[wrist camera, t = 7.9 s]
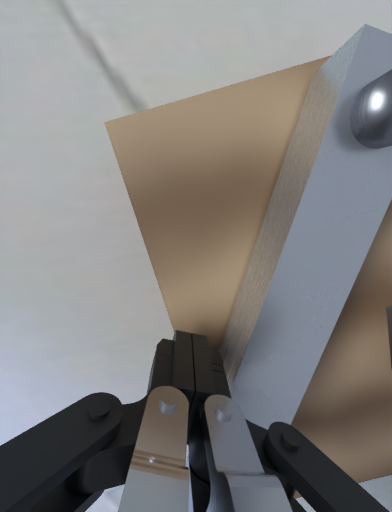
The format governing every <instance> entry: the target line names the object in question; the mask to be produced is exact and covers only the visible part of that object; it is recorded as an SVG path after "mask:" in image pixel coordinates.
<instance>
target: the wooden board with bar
mask: <svg viewBox="0 0 392 512" xmlns="http://www.w3.org/2000/svg"><path fill="white" fill-rule="evenodd" d="M330 57H331V56H328V57H325V58H321V59H318V60H315V61H311V62H308V63H304V64H301V65H298V66H294V67H291V68H287V69H284V70H281V71H277V72H274V73H270V74H267V75H264V76H260V77H257V78H254V79H250V80H247V81H243V82H240V83H237V84H233V85H230V86H226V87H223V88H220V89H216V90H213V91H209V92H206V93H203V94H199V95H196V96H192V97H189V98H186V99H182V100H179V101H175V102H172V103H169V104H165V105H162V106H158V107H155V108H152V109H148V110H145V111H141V112H138V113H135V114H131V115H128V116H124V117H121V118H118V119H114V120H111V121H108V122H105V125H106V128H107V131H108V134H109V137H110V140H111V143H112V146H113V149H114V152H115V155H116V158H117V161H118V164H119V167H120V170H121V173H122V176H123V179H124V182H125V185H126V188H127V191H128V194H129V197H130V200H131V203H132V206H133V209H134V212H135V215H136V218H137V221H138V224H139V227H140V230H141V233H142V236H143V239H144V242H145V245H146V248H147V251H148V254H149V257H150V260H151V263H152V266H153V269H154V272H155V275H156V278H157V281H158V284H159V287H160V290H161V293H162V296H163V299H164V302H165V305H166V308H167V311H168V314H169V317H170V320H171V323H172V326H173V329H174V332H175V330H180V331H185V332H190V333H195V334H200V335H205V336H207V341H208V346H209V347H210V348H215V349H216V350H217V351H218V352H219V350H220V347H221V344H222V341H223V338H224V335H225V332H226V329H227V326H228V323H229V320H230V317H231V315H232V312H233V309H234V306H235V303H236V300H237V297H238V294H239V291H240V288H241V285H242V282H243V279H244V276H245V273H246V270H247V267H248V264H249V261H250V258H251V255H252V252H253V250H254V247H255V244H256V241H257V238H258V235H259V232H260V229H261V226H262V223H263V220H264V217H265V214H266V211H267V208H268V205H269V202H270V199H271V196H272V193H273V190H274V187H275V184H276V182H277V179H278V176H279V173H280V170H281V167H282V164H283V161H284V158H285V155H286V152H287V149H288V146H289V143H290V140H291V137H292V134H293V131H294V128H295V125H296V122H297V119H298V116H299V114H300V111H301V108H302V105H303V102H304V99H305V96H306V93H307V90H308V87H309V84H310V81H311V78H312V75H313V73H314V72H315V71H316V70H318V69H319V68H320V67H321V66H322V65H323V64H324V63H325V62H326V61H327V60H328V59H329V58H330ZM291 426H293V427H294V428H296V429H297V430H298V431H300V432H301V433H302V434H303V435H304V436H305V437H306V438H307V439H309V440H310V441H311V442H312V443H313V444H314V445H315V446H316V447H317V448H319V449H320V450H321V451H322V452H323V453H324V454H325V455H326V456H328V457H329V458H330V459H331V460H332V461H333V462H334V463H335V464H336V465H338V466H339V467H340V468H341V469H342V470H343V471H344V472H345V473H347V474H348V475H349V476H350V477H351V478H352V479H353V480H354V481H356V482H357V483H360V482H364V481H368V480H372V479H376V478H380V477H384V476H388V475H392V199H391V202H390V204H389V206H388V208H387V211H386V213H385V215H384V217H383V219H382V222H381V224H380V226H379V228H378V231H377V233H376V235H375V237H374V240H373V242H372V244H371V246H370V248H369V251H368V253H367V255H366V257H365V260H364V262H363V264H362V266H361V269H360V271H359V273H358V275H357V278H356V280H355V282H354V284H353V286H352V289H351V291H350V293H349V295H348V298H347V300H346V302H345V304H344V307H343V309H342V311H341V313H340V315H339V318H338V320H337V322H336V324H335V327H334V329H333V331H332V333H331V336H330V338H329V340H328V342H327V344H326V347H325V349H324V351H323V353H322V356H321V358H320V360H319V362H318V365H317V367H316V369H315V371H314V374H313V376H312V378H311V380H310V382H309V385H308V387H307V389H306V391H305V394H304V396H303V398H302V400H301V403H300V405H299V407H298V409H297V411H296V414H295V416H294V418H293V420H292V423H291ZM300 497H302V496H301V495H300V494H299V493H298V491H297V490H296V493H295V495H294V498H295V499H296V498H300Z"/></svg>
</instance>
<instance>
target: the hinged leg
mask: <svg viewBox="0 0 392 512" xmlns="http://www.w3.org/2000/svg"><path fill="white" fill-rule="evenodd" d="M391 199H392V34H390V33H387V32H385V31H382V30H379V29H377V28H374V27H372V26H369V25H367V24H365V25H364V26H363V27H362V28H361V29H359V30H358V31H357V32H356V33H355V34H354V35H353V36H352V37H351V38H350V39H349V40H348V41H347V42H346V43H345V44H344V45H343V46H342V47H341V48H340V49H338V50H337V51H336V52H335V53H334V54H333V55H332V56H331V57H330V58H329V59H328V60H327V61H326V62H325V63H324V64H323V65H322V66H321V67H320V68H319V69H318V70H316V71H315V72H314V73H313V75H312V78H311V81H310V84H309V87H308V90H307V93H306V96H305V99H304V102H303V105H302V108H301V111H300V114H299V116H298V119H297V122H296V125H295V128H294V131H293V134H292V137H291V140H290V143H289V146H288V149H287V152H286V155H285V158H284V161H283V164H282V167H281V170H280V173H279V176H278V179H277V182H276V184H275V187H274V190H273V193H272V196H271V199H270V202H269V205H268V208H267V211H266V214H265V217H264V220H263V223H262V226H261V229H260V232H259V235H258V238H257V241H256V244H255V247H254V250H253V252H252V255H251V258H250V261H249V264H248V267H247V270H246V273H245V276H244V279H243V282H242V285H241V288H240V291H239V294H238V297H237V300H236V303H235V306H234V309H233V312H232V315H231V317H230V320H229V323H228V326H227V329H226V332H225V335H224V338H223V341H222V344H221V347H220V350H219V354H220V355H221V356H222V360H223V367H224V369H225V374H226V377H227V381H228V385H229V390H230V394H231V398H232V400H234V401H235V402H236V403H237V404H238V405H239V406H240V408H241V410H242V412H243V414H244V417H245V419H247V420H248V421H250V422H252V423H254V424H256V425H258V426H261V427H263V428H265V429H267V430H268V429H269V426H270V425H271V424H272V423H273V422H284V423H287V424H289V425H291V423H292V420H293V418H294V416H295V414H296V411H297V409H298V407H299V405H300V403H301V400H302V398H303V396H304V394H305V391H306V389H307V387H308V385H309V382H310V380H311V378H312V376H313V374H314V371H315V369H316V367H317V365H318V362H319V360H320V358H321V356H322V353H323V351H324V349H325V347H326V344H327V342H328V340H329V338H330V336H331V333H332V331H333V329H334V327H335V324H336V322H337V320H338V318H339V315H340V313H341V311H342V309H343V307H344V304H345V302H346V300H347V298H348V295H349V293H350V291H351V289H352V286H353V284H354V282H355V280H356V278H357V275H358V273H359V271H360V269H361V266H362V264H363V262H364V260H365V257H366V255H367V253H368V251H369V248H370V246H371V244H372V242H373V240H374V237H375V235H376V233H377V231H378V228H379V226H380V224H381V222H382V219H383V217H384V215H385V213H386V211H387V208H388V206H389V204H390V202H391Z"/></svg>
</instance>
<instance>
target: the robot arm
mask: <svg viewBox="0 0 392 512" xmlns="http://www.w3.org/2000/svg"><path fill="white" fill-rule="evenodd" d="M187 445H189V455H188V458H187V461H186V446H187ZM123 484H125V487H124V490H123V494H122V498H121V502H120V506H119V509H118V512H306V510H305V509H304V508H303V507H302V506H301V505H300V504H299V503H298V502H297V500H296V499H295V498H294V495H295V493H296V490H297V491H298V493H299V494H300V495H301V496H302V497H303V498H304V499H305V500H306V501H307V502H308V503H309V504H310V506H311V507H312V508H313V509H314V510H315V511H316V512H389V511H388V510H387V509H386V508H385V507H384V506H382V505H381V504H380V503H379V502H378V501H377V500H376V499H375V498H373V497H372V496H371V495H370V494H369V493H368V492H367V491H366V490H364V489H363V488H362V487H361V486H360V485H359V484H358V483H357V482H356V481H354V480H353V479H352V478H351V477H350V476H349V475H348V474H347V473H345V472H344V471H343V470H342V469H341V468H340V467H339V466H338V465H336V464H335V463H334V462H333V461H332V460H331V459H330V458H329V457H328V456H326V455H325V454H324V453H323V452H322V451H321V450H320V449H319V448H317V447H316V446H315V445H314V444H313V443H312V442H311V441H310V440H309V439H307V438H306V437H305V436H304V435H303V434H302V433H301V432H300V431H298V430H297V429H296V428H294V427H293V426H291V425H289V424H287V423H284V422H273V423H272V424H271V425H270V426H269V429H268V430H267V429H265V428H263V427H261V426H258V425H256V424H254V423H252V422H250V421H248V420H247V419H245V417H244V414H243V412H242V410H241V408H240V406H239V405H238V404H237V403H236V402H235V401H234V400H232V398H231V394H230V390H229V385H228V381H227V377H226V374H225V369H224V367H223V360H222V356H221V355H220V354H219V352H218V351H217V350H216V349H215V348H210V347H209V346H208V341H207V336H205V335H200V334H195V333H190V332H185V331H180V330H175V333H174V337H173V340H168V339H162V340H161V341H160V342H159V343H158V344H157V348H156V352H155V356H154V360H153V364H152V368H151V372H150V378H149V384H148V390H147V395H146V396H145V397H144V398H143V399H142V400H140V401H138V402H135V403H131V404H124V405H122V403H121V402H120V400H119V399H118V398H117V397H116V396H114V395H112V394H109V393H103V392H100V393H93V394H90V395H88V396H86V397H84V398H82V399H81V400H79V401H77V402H75V403H74V404H72V405H70V406H69V407H67V408H65V409H63V410H62V411H60V412H58V413H56V414H55V415H53V416H51V417H49V418H48V419H46V420H44V421H43V422H41V423H39V424H37V425H36V426H34V427H32V428H30V429H29V430H27V431H25V432H23V433H22V434H20V435H18V436H17V437H15V438H13V439H11V440H10V441H8V442H6V443H4V444H3V445H1V446H0V512H85V511H86V510H87V509H88V508H89V507H90V506H91V505H92V504H93V503H94V502H95V501H96V500H97V499H98V498H99V497H100V496H101V495H102V493H103V492H104V490H105V489H109V488H112V487H116V486H119V485H123Z"/></svg>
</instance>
